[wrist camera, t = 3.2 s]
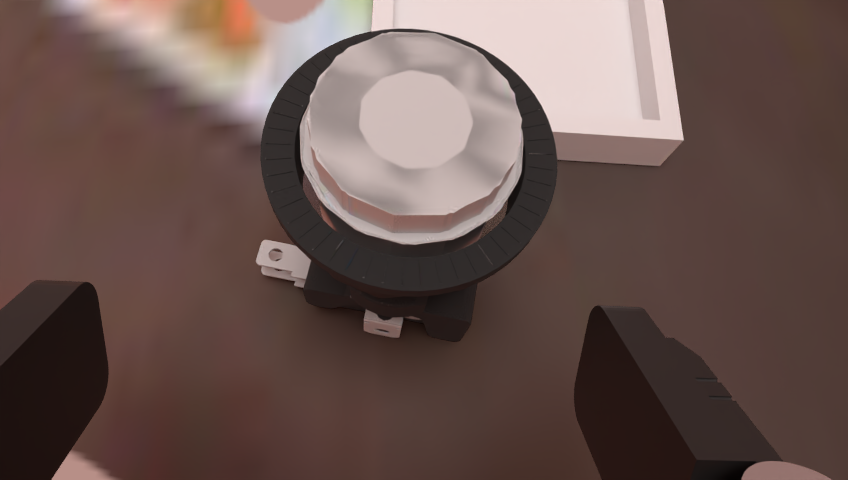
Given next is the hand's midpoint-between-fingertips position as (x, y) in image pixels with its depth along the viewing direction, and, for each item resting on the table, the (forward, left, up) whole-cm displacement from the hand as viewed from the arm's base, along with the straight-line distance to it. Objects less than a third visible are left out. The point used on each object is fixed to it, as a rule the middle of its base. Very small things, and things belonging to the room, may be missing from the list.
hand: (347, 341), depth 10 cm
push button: (0, -4, -9) cm, 9 cm away
